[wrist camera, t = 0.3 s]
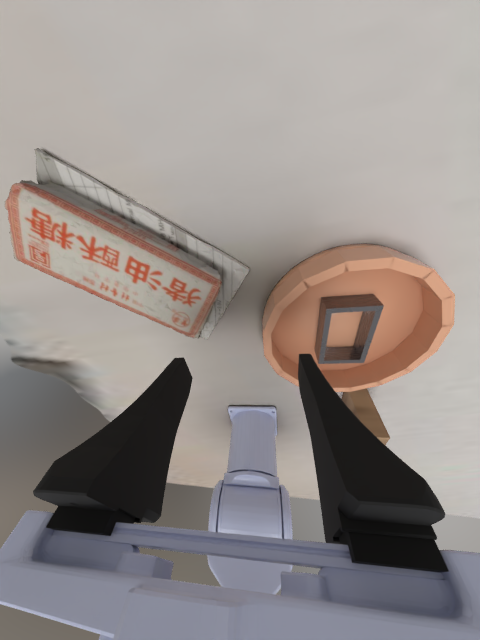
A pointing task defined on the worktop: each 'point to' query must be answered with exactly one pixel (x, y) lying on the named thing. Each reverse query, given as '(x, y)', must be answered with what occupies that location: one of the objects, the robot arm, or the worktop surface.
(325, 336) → the hinged hatch frame
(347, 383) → the orange round shallow bowl
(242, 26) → the worktop surface
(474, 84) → the worktop surface
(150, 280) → the packaged product
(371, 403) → the wood hatch door
